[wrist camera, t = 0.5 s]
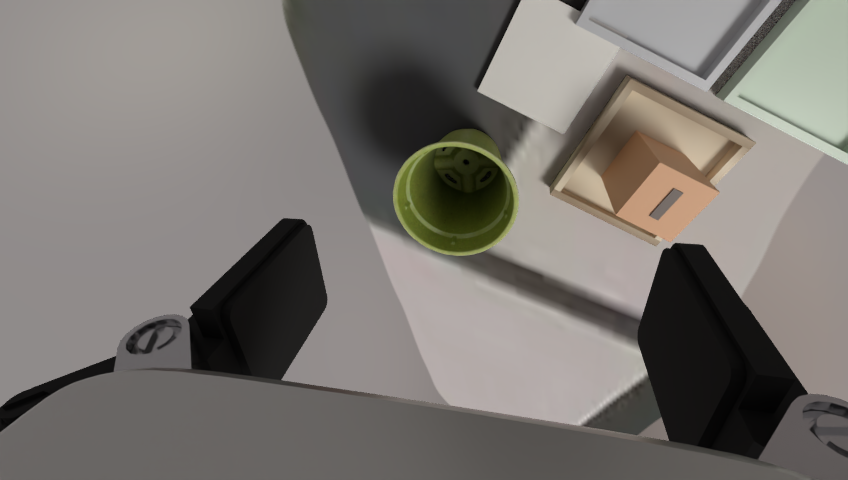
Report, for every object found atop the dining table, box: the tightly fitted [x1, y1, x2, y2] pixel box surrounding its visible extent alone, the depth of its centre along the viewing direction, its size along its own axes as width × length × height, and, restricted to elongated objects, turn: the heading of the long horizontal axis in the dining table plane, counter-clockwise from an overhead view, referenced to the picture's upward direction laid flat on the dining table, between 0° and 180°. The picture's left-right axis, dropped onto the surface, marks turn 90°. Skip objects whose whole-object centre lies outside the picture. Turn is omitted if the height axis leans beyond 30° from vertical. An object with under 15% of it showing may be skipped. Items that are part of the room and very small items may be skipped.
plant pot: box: [393, 129, 519, 256], centre depth 33 cm, size 9×9×9 cm
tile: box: [478, 0, 628, 134], centre depth 31 cm, size 8×8×1 cm
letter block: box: [601, 130, 720, 242], centre depth 31 cm, size 4×5×7 cm
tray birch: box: [550, 75, 756, 246], centre depth 33 cm, size 11×11×2 cm
